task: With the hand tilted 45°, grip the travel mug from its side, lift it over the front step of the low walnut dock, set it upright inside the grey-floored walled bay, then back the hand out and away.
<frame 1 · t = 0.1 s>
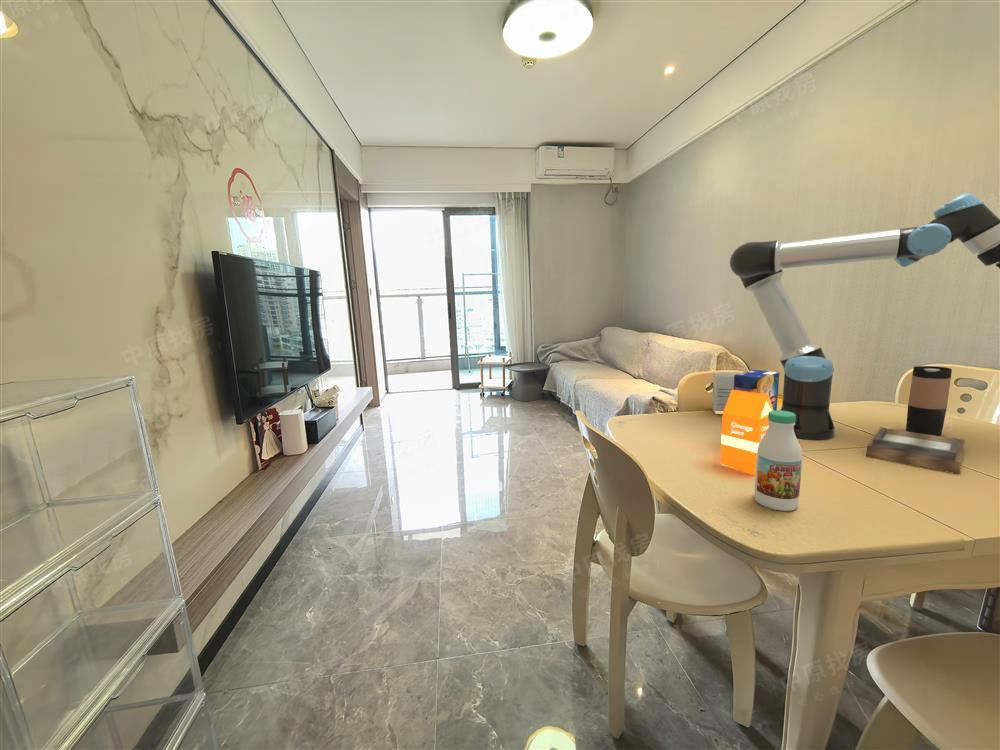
orange juice: (744, 467, 100), on the table
dock: (914, 452, 103), on the table
travel mug: (922, 434, 115), on the table
milk bottle: (775, 503, 82), on the table
beverage box: (752, 448, 112), on the table
supplement box: (726, 413, 147), on the table
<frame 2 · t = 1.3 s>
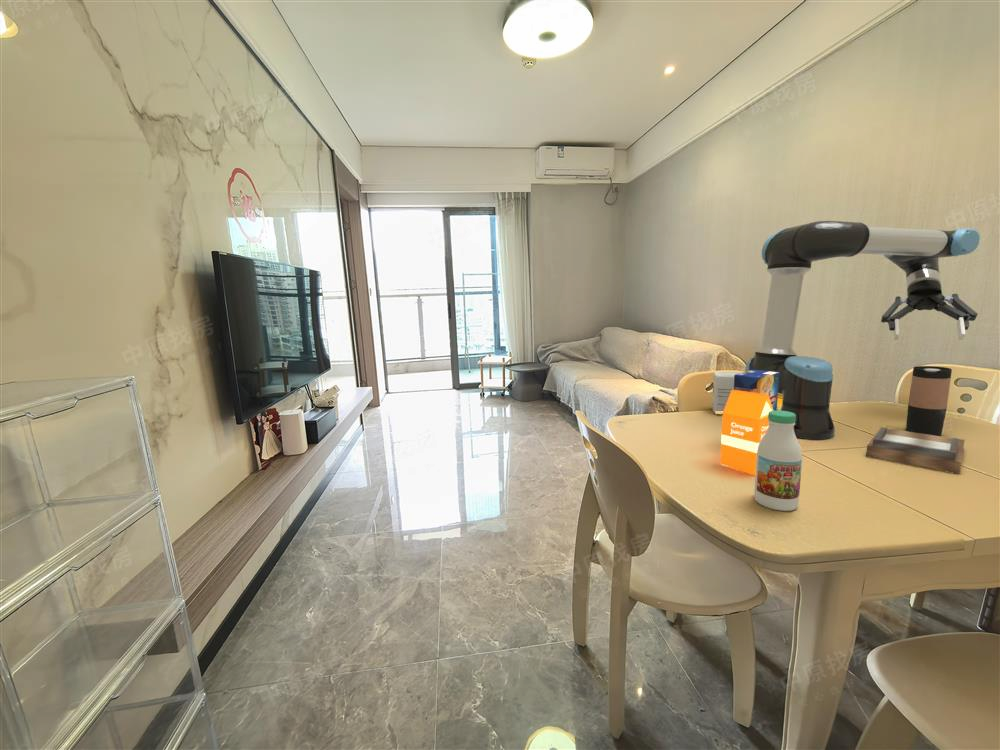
hand: (928, 337, 118), 28 cm above the table, tool tilted 45°, fingers open, 13 cm apart
nothing on the table moved.
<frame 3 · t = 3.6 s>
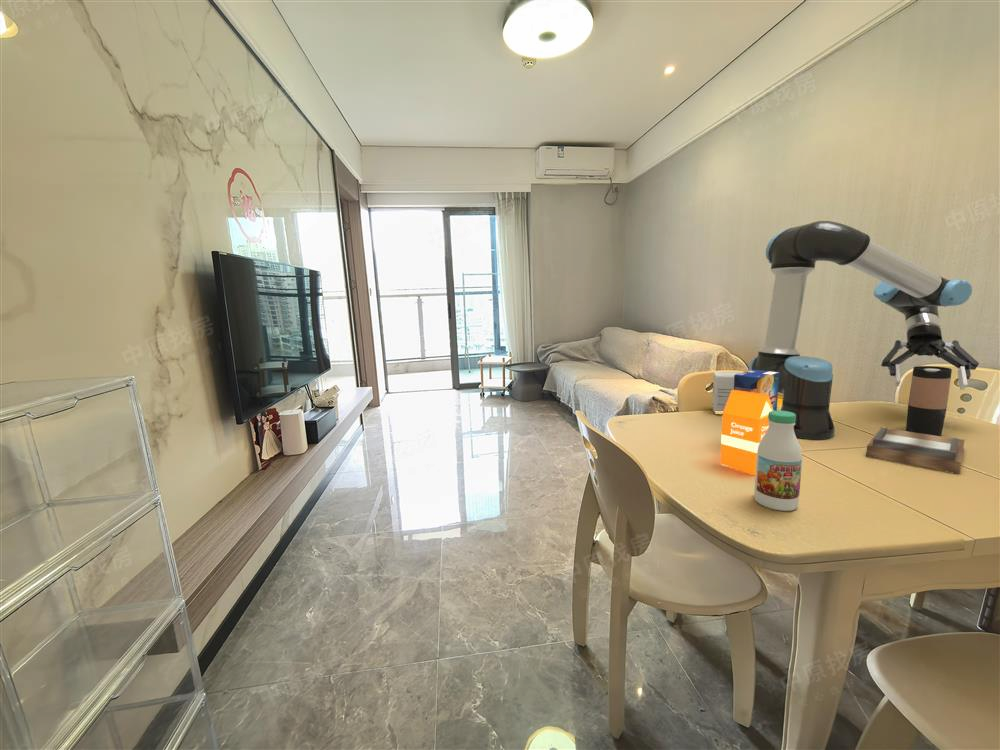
hand: (929, 385, 116), 14 cm above the table, tool tilted 45°, fingers open, 13 cm apart
nothing on the table moved.
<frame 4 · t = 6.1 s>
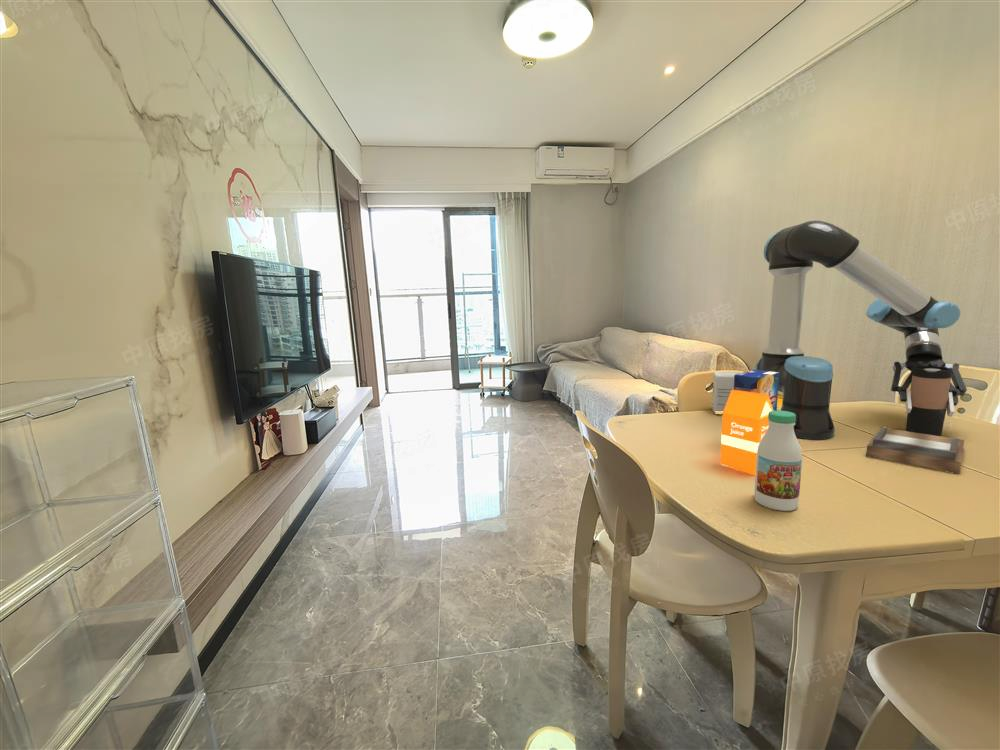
hand: (929, 412, 111), 8 cm above the table, tool tilted 45°, fingers closed on travel mug, 8 cm apart
travel mug: (922, 434, 115), on the table, touching gripper
everything else where it was.
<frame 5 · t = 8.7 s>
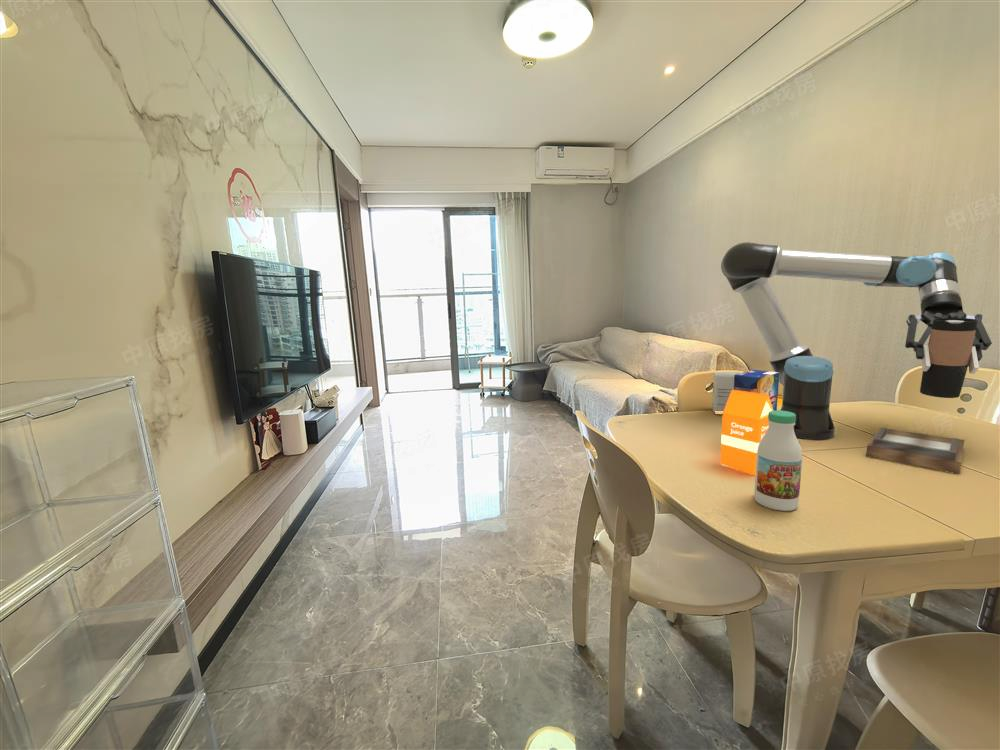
hand: (949, 369, 99), 22 cm above the table, tool tilted 40°, fingers closed on travel mug, 8 cm apart
travel mug: (938, 394, 103), point 15 cm above the table, touching gripper
everything else where it was.
when the fingers open (12 cm above the table, at t = 11.7 s): travel mug drops 2 cm, resting on dock.
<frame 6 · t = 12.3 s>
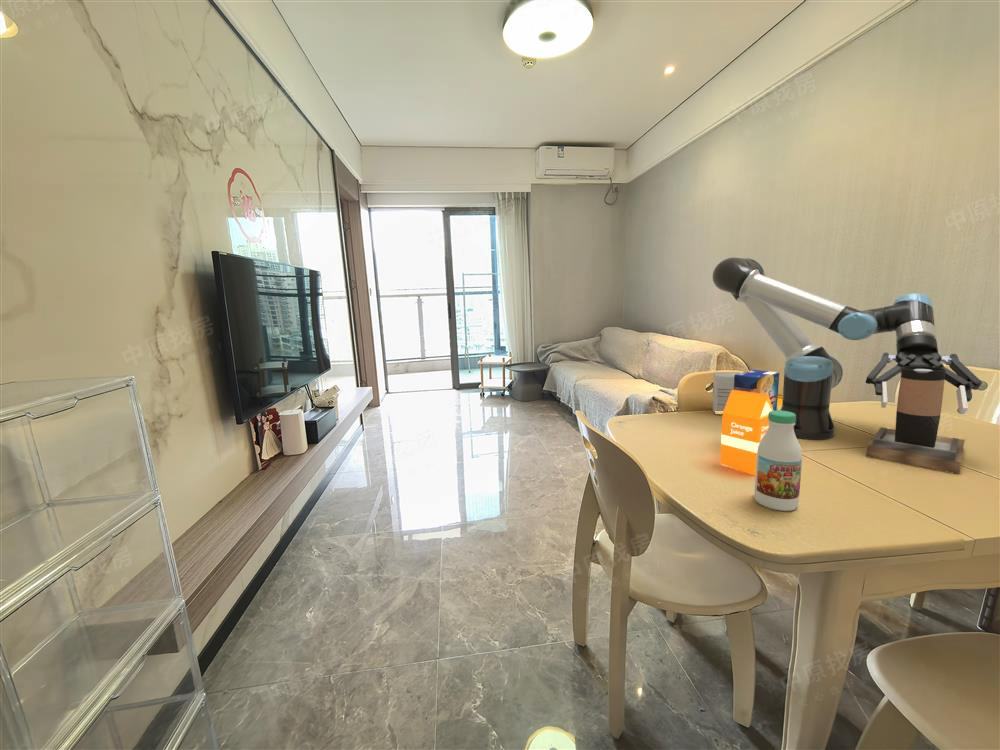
hand: (922, 408, 96), 14 cm above the table, tool tilted 45°, fingers open, 13 cm apart
travel mug: (914, 444, 100), point 3 cm above the table, touching dock
everything else where it was.
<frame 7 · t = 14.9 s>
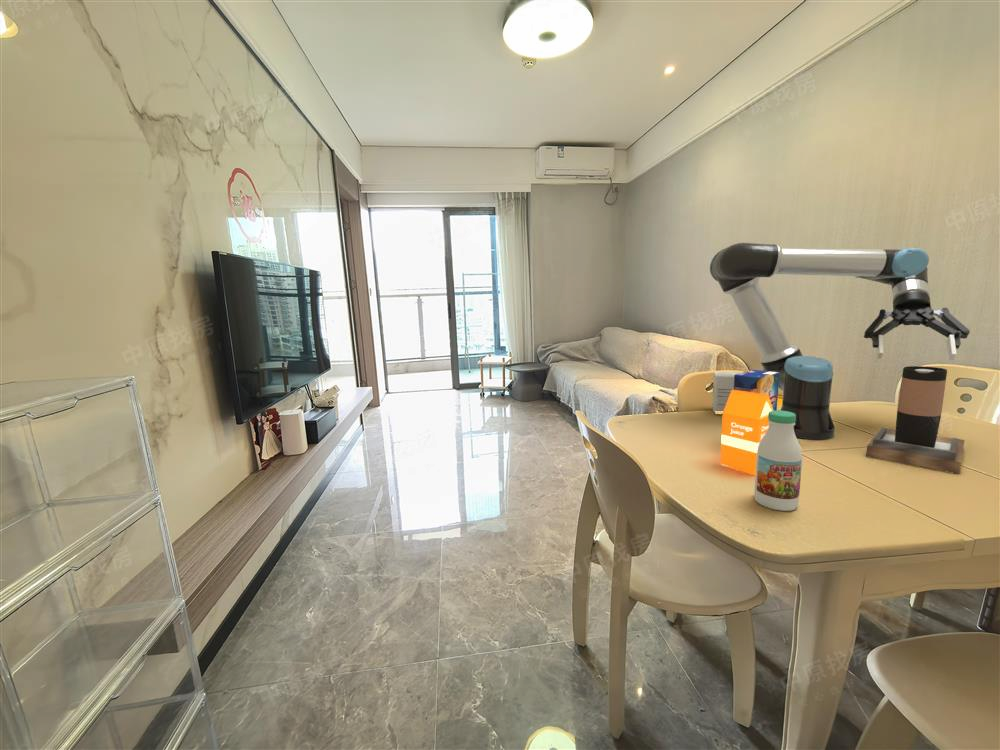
hand: (915, 356, 105), 25 cm above the table, tool tilted 45°, fingers open, 13 cm apart
nothing on the table moved.
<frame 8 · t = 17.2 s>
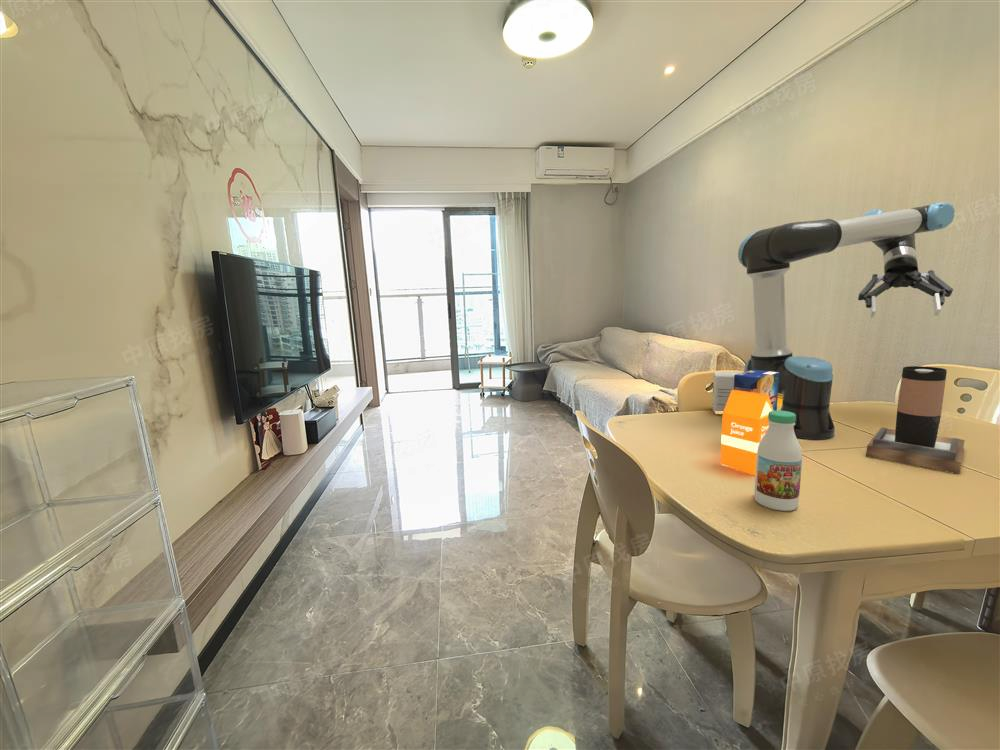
hand: (904, 313, 116), 36 cm above the table, tool tilted 45°, fingers open, 13 cm apart
nothing on the table moved.
at the end: travel mug inside the target area on the dock (0.1 cm from its centre), point 3.1 cm above the dock's base; travel mug tilted 0°; the gripper is holding nothing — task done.
